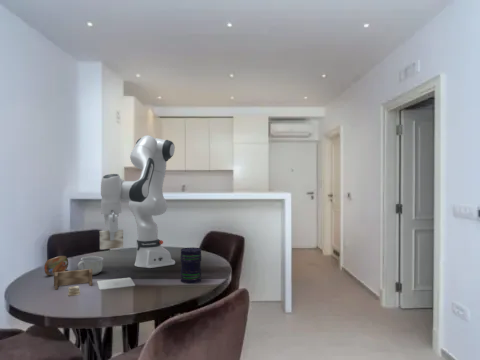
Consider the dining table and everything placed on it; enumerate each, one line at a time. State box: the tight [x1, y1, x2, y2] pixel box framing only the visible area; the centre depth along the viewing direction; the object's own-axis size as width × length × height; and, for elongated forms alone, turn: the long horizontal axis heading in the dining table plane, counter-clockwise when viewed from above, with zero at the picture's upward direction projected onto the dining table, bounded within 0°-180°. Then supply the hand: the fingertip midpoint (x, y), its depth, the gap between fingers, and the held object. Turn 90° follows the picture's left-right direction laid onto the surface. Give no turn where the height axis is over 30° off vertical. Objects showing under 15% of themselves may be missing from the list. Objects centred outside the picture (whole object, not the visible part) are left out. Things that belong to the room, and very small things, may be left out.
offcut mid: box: [68, 289, 81, 295], centre depth 152 cm, size 4×3×1 cm
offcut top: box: [68, 285, 80, 292], centre depth 152 cm, size 4×3×1 cm
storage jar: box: [179, 247, 202, 284], centre depth 173 cm, size 10×10×15 cm
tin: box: [43, 255, 69, 277], centre depth 186 cm, size 15×3×8 cm, turn 168°
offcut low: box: [67, 292, 81, 297], centre depth 152 cm, size 4×4×1 cm
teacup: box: [77, 255, 104, 276], centre depth 184 cm, size 14×11×8 cm
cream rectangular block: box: [99, 229, 124, 250], centre depth 167 cm, size 10×2×8 cm, turn 115°
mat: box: [96, 277, 136, 291], centre depth 167 cm, size 15×14×1 cm
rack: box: [53, 269, 93, 291], centre depth 164 cm, size 16×7×6 cm, turn 116°
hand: (111, 239), depth 167 cm, fingers closed on cream rectangular block, 2 cm apart
